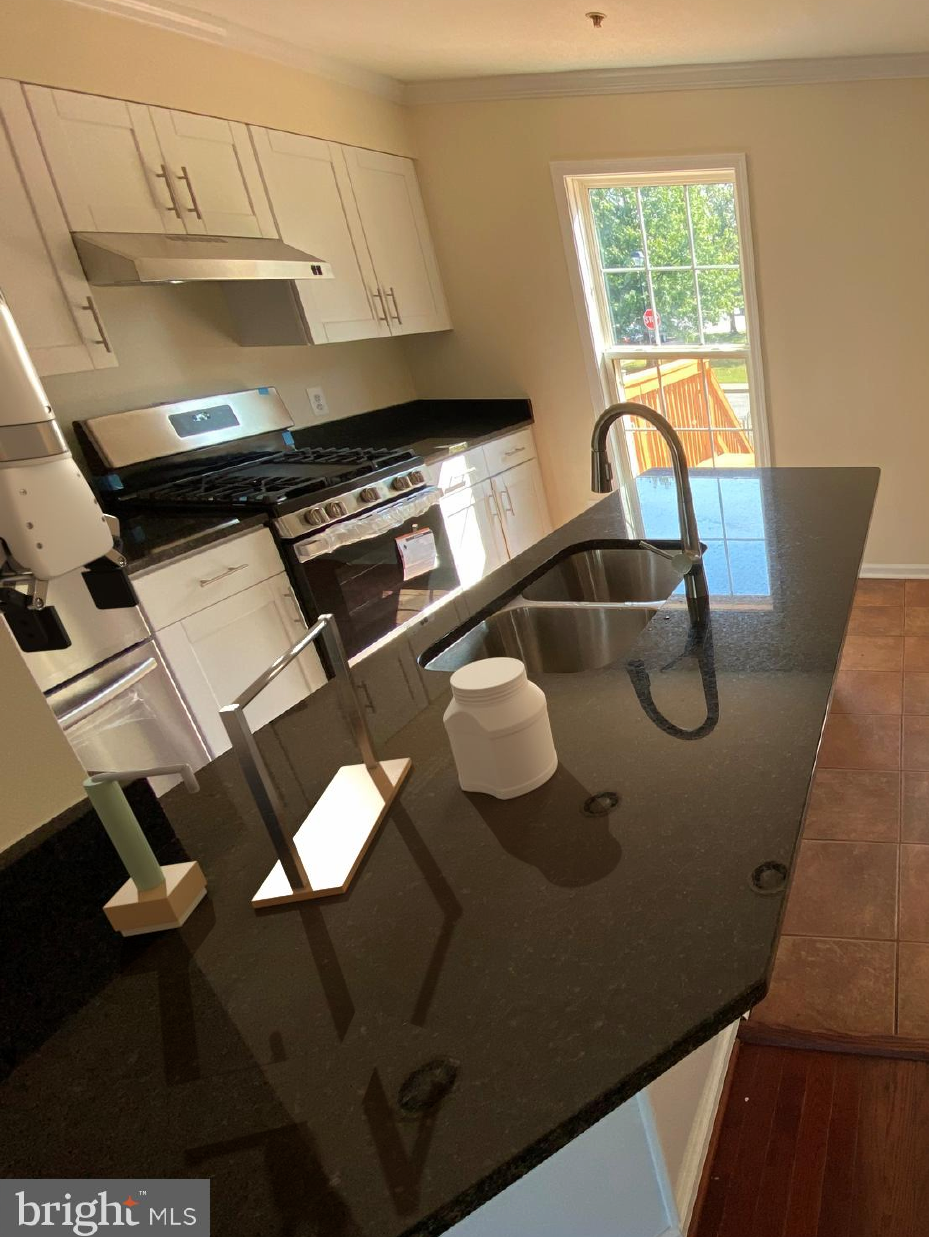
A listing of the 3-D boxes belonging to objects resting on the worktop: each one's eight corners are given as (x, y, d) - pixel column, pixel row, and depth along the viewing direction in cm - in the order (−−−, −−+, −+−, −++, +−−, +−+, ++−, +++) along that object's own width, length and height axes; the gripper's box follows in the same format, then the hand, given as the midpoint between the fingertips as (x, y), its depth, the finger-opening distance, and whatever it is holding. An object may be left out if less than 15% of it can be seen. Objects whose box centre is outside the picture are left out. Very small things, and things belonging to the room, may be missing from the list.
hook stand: (119, 939, 66) (39, 797, 60) (152, 899, 71) (81, 763, 64) (235, 919, 69) (171, 780, 62) (260, 881, 73) (203, 748, 66)
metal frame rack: (253, 909, 70) (169, 719, 61) (343, 772, 90) (289, 615, 81) (344, 893, 72) (275, 707, 63) (412, 763, 92) (367, 609, 83)
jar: (445, 786, 88) (417, 684, 82) (501, 745, 96) (479, 649, 90) (521, 804, 85) (497, 699, 79) (571, 759, 93) (553, 661, 87)
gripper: (21, 430, 65) (97, 597, 72) (-161, 468, 50) (-44, 675, 57) (121, 427, 67) (185, 590, 74) (-25, 463, 52) (72, 663, 59)
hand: (86, 627), depth 65 cm, fingers open, 9 cm apart
